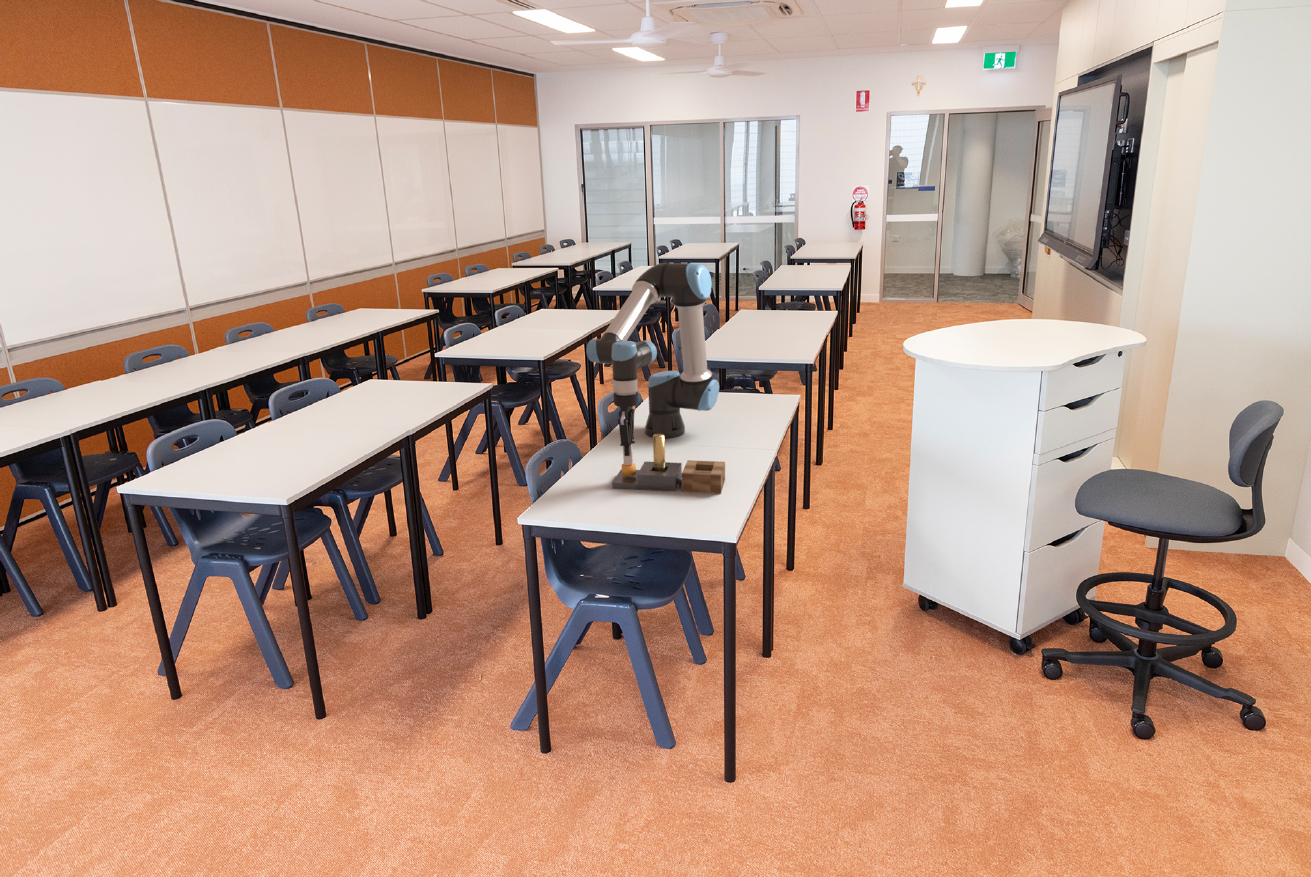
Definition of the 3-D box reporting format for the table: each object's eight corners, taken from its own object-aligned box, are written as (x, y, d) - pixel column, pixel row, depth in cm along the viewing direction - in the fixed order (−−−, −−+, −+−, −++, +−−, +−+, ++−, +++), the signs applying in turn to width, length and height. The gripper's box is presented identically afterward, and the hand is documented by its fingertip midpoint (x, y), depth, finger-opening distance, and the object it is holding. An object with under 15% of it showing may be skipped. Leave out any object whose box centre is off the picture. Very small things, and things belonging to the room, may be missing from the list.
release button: (623, 471, 255) (623, 462, 254) (637, 471, 254) (636, 462, 253) (620, 476, 250) (620, 467, 249) (634, 476, 250) (633, 467, 249)
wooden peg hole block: (687, 477, 255) (687, 460, 253) (725, 479, 253) (725, 461, 251) (681, 491, 244) (681, 473, 242) (720, 493, 242) (720, 475, 240)
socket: (621, 474, 259) (620, 460, 258) (681, 477, 256) (681, 462, 254) (612, 488, 248) (611, 473, 247) (675, 491, 244) (675, 476, 243)
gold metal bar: (655, 481, 253) (654, 433, 248) (666, 481, 252) (665, 433, 247) (653, 485, 250) (651, 437, 245) (664, 485, 249) (663, 437, 244)
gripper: (618, 386, 250) (621, 457, 258) (608, 397, 238) (611, 471, 246) (641, 387, 249) (644, 457, 256) (632, 397, 237) (635, 472, 244)
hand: (628, 464), depth 251 cm, fingers closed
